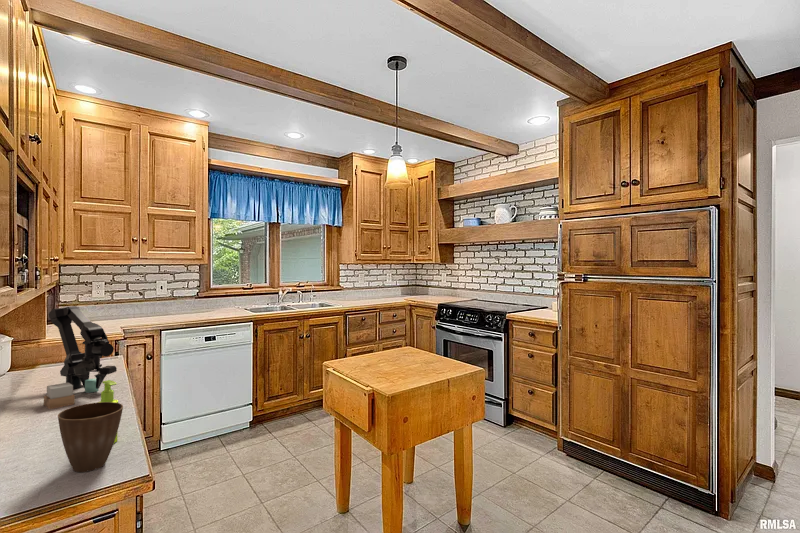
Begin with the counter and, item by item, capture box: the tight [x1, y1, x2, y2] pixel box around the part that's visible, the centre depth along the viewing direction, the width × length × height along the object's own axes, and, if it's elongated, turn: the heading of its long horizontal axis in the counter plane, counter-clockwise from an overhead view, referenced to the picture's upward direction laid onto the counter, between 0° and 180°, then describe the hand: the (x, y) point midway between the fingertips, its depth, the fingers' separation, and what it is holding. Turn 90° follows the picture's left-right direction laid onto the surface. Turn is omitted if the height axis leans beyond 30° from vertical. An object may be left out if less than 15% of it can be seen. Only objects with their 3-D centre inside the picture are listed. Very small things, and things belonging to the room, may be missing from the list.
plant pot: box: [57, 401, 124, 473], centre depth 118 cm, size 15×15×16 cm
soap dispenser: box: [99, 379, 119, 444], centre depth 134 cm, size 6×7×20 cm
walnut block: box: [43, 394, 76, 410], centre depth 170 cm, size 8×8×4 cm
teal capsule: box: [84, 378, 100, 394], centre depth 189 cm, size 5×5×5 cm
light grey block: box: [46, 382, 74, 399], centre depth 170 cm, size 7×7×4 cm
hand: (91, 388), depth 189 cm, fingers closed on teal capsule, 5 cm apart
